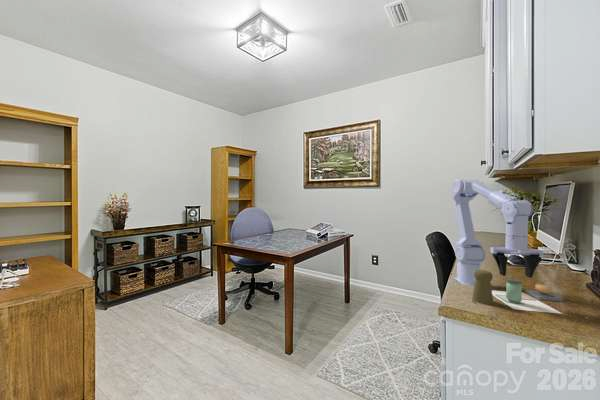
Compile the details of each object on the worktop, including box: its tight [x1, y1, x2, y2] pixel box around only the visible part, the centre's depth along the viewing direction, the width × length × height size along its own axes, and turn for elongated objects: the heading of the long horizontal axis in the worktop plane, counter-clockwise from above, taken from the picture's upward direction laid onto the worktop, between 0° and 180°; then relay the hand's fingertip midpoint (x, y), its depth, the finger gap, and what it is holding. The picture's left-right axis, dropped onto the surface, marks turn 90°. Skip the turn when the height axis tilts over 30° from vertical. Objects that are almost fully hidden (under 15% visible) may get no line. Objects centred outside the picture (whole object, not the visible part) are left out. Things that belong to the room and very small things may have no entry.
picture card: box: [492, 289, 563, 315], centre depth 87 cm, size 18×13×1 cm
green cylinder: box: [505, 278, 523, 304], centre depth 86 cm, size 4×4×7 cm
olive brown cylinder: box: [471, 269, 494, 306], centre depth 86 cm, size 6×6×11 cm
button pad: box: [525, 289, 564, 303], centre depth 91 cm, size 7×7×2 cm
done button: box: [534, 283, 553, 294], centre depth 91 cm, size 4×4×2 cm
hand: (515, 275), depth 86 cm, fingers open, 7 cm apart
